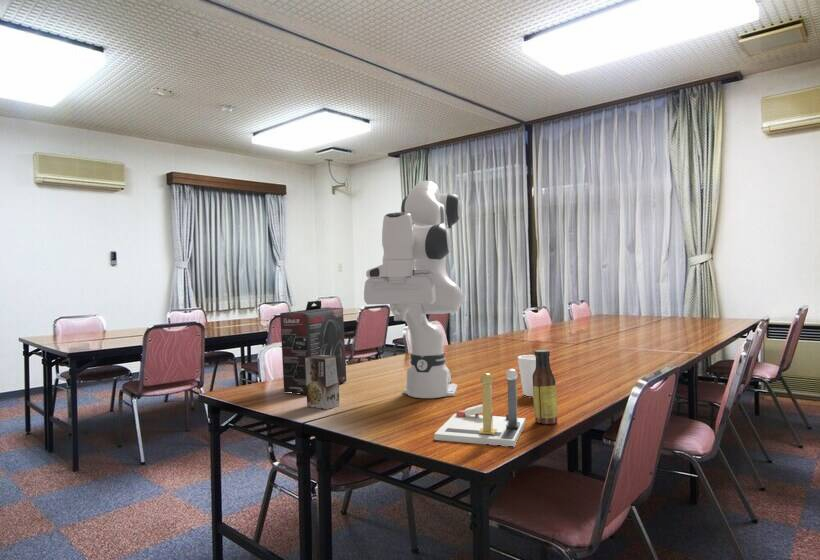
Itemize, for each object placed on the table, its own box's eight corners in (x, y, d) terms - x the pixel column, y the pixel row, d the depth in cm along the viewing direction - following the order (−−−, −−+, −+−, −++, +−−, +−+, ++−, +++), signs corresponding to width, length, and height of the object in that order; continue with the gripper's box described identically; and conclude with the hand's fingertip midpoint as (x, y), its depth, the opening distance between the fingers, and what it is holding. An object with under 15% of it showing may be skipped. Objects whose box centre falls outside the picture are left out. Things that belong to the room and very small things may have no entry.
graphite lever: (508, 423, 135) (506, 367, 135) (520, 424, 134) (519, 367, 134) (505, 427, 132) (504, 370, 132) (518, 428, 130) (516, 370, 130)
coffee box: (340, 405, 166) (339, 355, 166) (326, 410, 161) (325, 358, 161) (319, 402, 171) (318, 354, 171) (305, 406, 166) (304, 356, 166)
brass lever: (481, 429, 130) (480, 371, 130) (497, 430, 129) (495, 372, 129) (478, 433, 127) (477, 373, 127) (494, 434, 126) (493, 374, 126)
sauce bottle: (561, 421, 142) (560, 350, 142) (551, 426, 137) (549, 352, 137) (540, 417, 146) (538, 348, 146) (529, 422, 142) (527, 350, 142)
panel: (455, 418, 148) (454, 409, 148) (525, 423, 141) (525, 413, 141) (434, 439, 129) (434, 429, 129) (514, 447, 122) (514, 435, 122)
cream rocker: (468, 413, 145) (466, 408, 145) (488, 408, 143) (486, 403, 143) (465, 416, 142) (464, 411, 143) (486, 411, 140) (484, 405, 141)
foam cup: (517, 397, 170) (516, 358, 170) (520, 391, 179) (519, 354, 179) (546, 399, 167) (546, 359, 167) (548, 392, 176) (547, 355, 176)
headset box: (309, 396, 181) (307, 302, 180) (281, 393, 186) (278, 302, 186) (347, 382, 203) (345, 299, 202) (320, 380, 208) (318, 299, 208)
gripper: (438, 269, 141) (439, 319, 141) (370, 271, 148) (371, 319, 148) (431, 269, 135) (432, 322, 135) (360, 271, 142) (362, 321, 142)
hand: (400, 320), depth 141 cm, fingers closed
